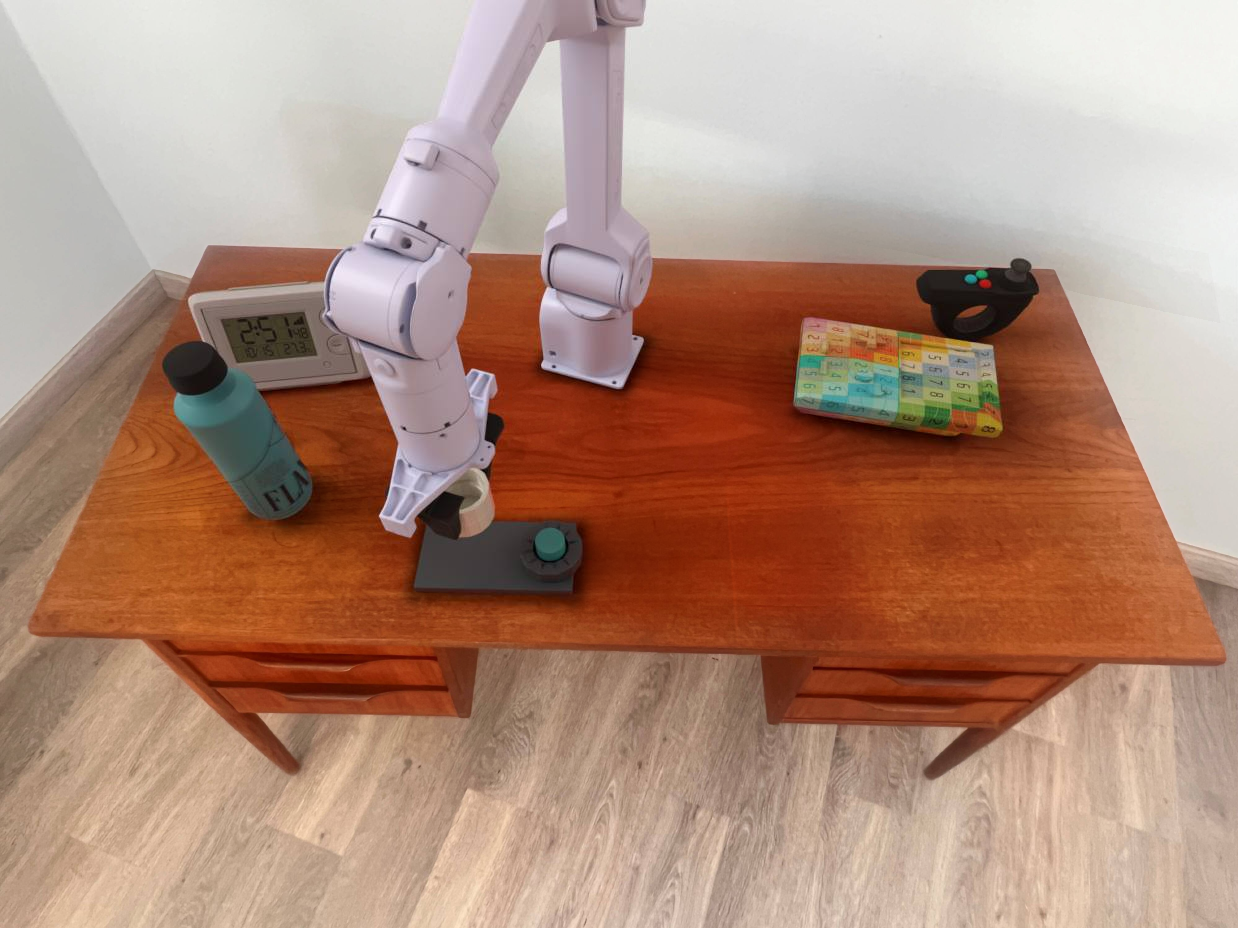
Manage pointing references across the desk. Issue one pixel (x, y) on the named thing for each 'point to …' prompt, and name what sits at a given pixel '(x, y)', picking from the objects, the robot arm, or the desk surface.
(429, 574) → the grey dial base
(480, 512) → the white cup
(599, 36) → the robot arm
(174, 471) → the desk surface
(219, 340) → the digital clock
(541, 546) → the tare button
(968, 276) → the controller
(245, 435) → the beverage bottle
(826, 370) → the puzzle game
